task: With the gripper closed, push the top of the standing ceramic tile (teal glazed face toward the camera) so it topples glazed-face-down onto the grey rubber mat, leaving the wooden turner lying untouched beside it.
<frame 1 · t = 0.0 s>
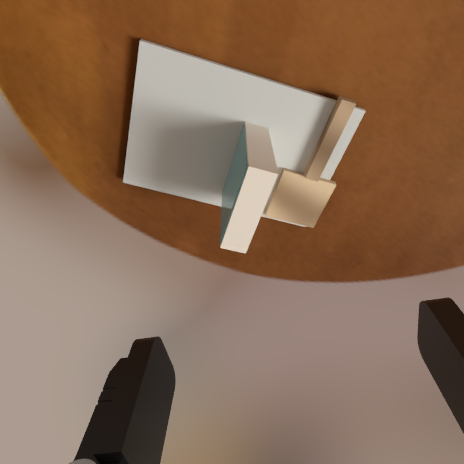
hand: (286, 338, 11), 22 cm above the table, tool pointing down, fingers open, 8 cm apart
tile: (244, 162, 31), point 1 cm above the table, touching mat
mat: (236, 146, 31), on the table
turner: (311, 169, 31), point 1 cm above the table, touching mat
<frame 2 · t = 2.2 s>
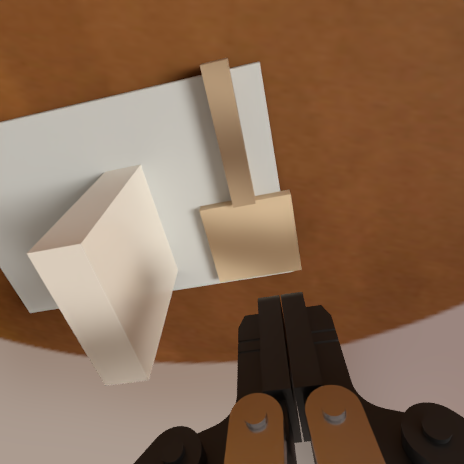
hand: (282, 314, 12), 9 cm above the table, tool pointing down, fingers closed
tile: (144, 224, 20), point 1 cm above the table, touching mat
mat: (125, 208, 21), on the table
turner: (242, 189, 19), point 1 cm above the table, touching mat
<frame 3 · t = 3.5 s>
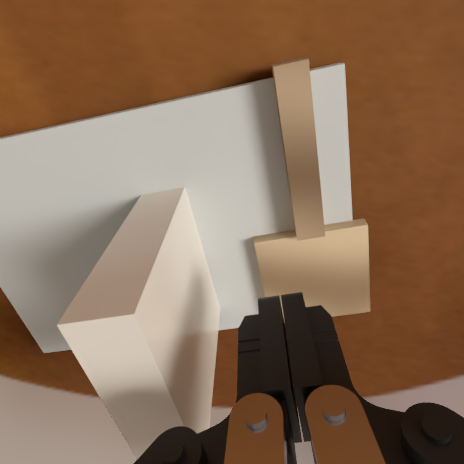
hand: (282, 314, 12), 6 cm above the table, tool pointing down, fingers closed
tile: (184, 256, 17), point 1 cm above the table, touching mat
mat: (161, 236, 17), on the table
turner: (306, 217, 16), point 1 cm above the table, touching mat
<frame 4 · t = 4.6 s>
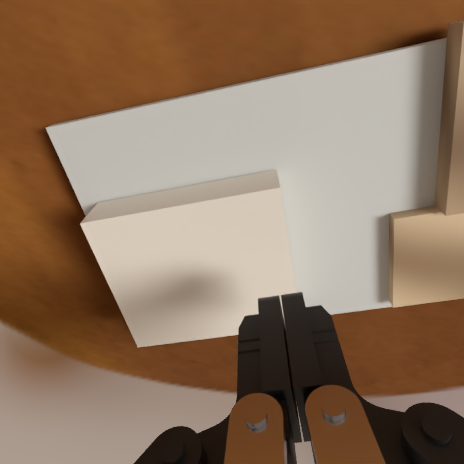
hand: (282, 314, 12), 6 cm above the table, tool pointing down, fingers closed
tile: (289, 251, 16), point 2 cm above the table, tilted 90°, touching mat
mat: (285, 214, 17), on the table
turner: (449, 192, 15), point 1 cm above the table, touching mat
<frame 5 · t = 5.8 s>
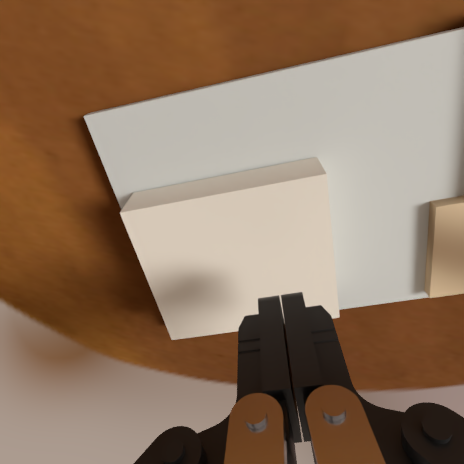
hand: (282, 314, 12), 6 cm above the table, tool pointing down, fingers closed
tile: (328, 241, 15), point 2 cm above the table, tilted 90°, touching mat
mat: (321, 203, 16), on the table
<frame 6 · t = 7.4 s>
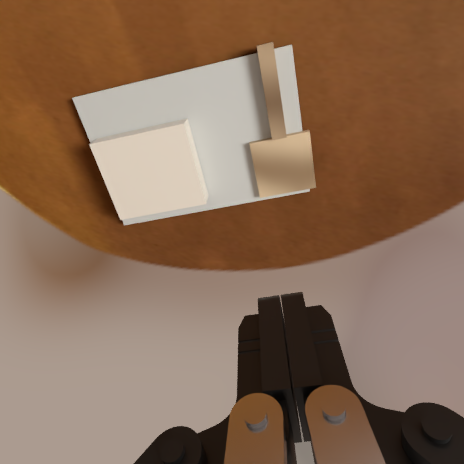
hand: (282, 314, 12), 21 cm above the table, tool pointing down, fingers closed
tile: (197, 162, 30), point 2 cm above the table, tilted 90°, touching mat
mat: (197, 145, 31), on the table
turner: (277, 130, 29), point 1 cm above the table, touching mat
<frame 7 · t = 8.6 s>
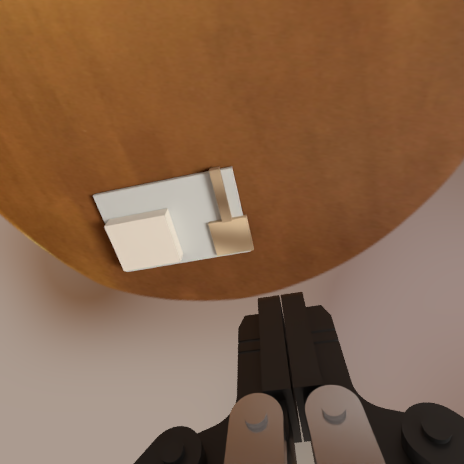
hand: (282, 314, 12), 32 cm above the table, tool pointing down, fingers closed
tile: (174, 235, 46), point 2 cm above the table, tilted 90°, touching mat
mat: (175, 222, 47), on the table
turner: (226, 214, 45), point 1 cm above the table, touching mat
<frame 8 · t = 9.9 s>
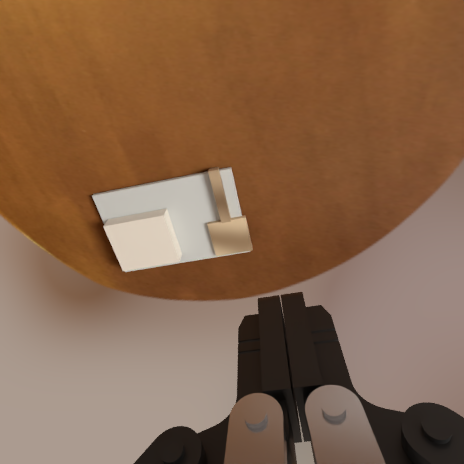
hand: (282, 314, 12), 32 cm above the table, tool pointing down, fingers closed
tile: (173, 235, 46), point 2 cm above the table, tilted 90°, touching mat
mat: (174, 222, 47), on the table
turner: (225, 215, 45), point 1 cm above the table, touching mat
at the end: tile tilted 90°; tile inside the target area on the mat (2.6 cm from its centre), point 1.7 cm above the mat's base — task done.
